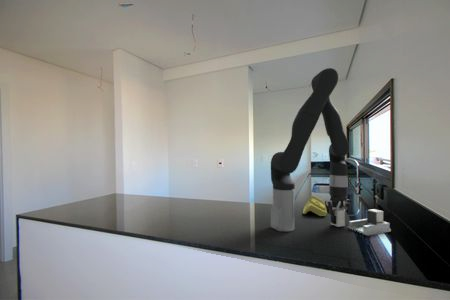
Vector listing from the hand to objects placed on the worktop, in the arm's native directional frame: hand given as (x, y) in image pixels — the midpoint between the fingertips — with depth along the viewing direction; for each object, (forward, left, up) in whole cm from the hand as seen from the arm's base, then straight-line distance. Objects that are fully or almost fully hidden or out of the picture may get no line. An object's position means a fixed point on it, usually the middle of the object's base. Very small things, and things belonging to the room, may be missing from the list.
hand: (338, 222), depth 104 cm
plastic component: (+8, +22, -2) cm, 23 cm away
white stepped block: (+8, -9, -1) cm, 12 cm away
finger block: (0, 0, -1) cm, 1 cm away
